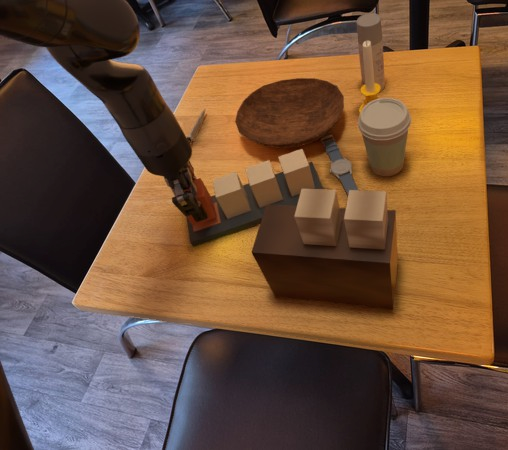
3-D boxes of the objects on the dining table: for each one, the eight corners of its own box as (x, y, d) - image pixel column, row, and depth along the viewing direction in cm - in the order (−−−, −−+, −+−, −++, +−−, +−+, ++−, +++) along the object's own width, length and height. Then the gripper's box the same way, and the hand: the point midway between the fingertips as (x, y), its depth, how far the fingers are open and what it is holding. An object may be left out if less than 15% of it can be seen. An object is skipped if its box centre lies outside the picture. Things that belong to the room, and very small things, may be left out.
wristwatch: (335, 133, 87) (334, 129, 86) (371, 206, 74) (371, 202, 74) (315, 140, 87) (314, 136, 86) (348, 214, 74) (347, 210, 74)
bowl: (255, 98, 99) (249, 80, 95) (352, 94, 93) (350, 74, 89) (231, 162, 88) (223, 144, 84) (340, 162, 82) (336, 143, 78)
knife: (206, 113, 99) (203, 106, 98) (209, 113, 99) (206, 106, 97) (182, 160, 91) (178, 153, 90) (185, 160, 91) (181, 154, 89)
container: (383, 94, 91) (379, 26, 79) (360, 94, 92) (353, 27, 81) (386, 79, 94) (383, 12, 82) (364, 80, 95) (358, 13, 83)
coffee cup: (417, 174, 77) (419, 121, 67) (370, 187, 77) (364, 137, 68) (402, 142, 82) (401, 89, 72) (357, 155, 82) (350, 104, 73)
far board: (327, 200, 77) (320, 172, 71) (193, 247, 77) (175, 222, 71) (313, 167, 83) (305, 137, 77) (187, 210, 83) (170, 184, 77)
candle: (379, 121, 86) (374, 51, 74) (355, 116, 89) (346, 47, 76) (389, 104, 89) (386, 33, 76) (365, 100, 91) (359, 30, 79)
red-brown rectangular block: (213, 199, 79) (200, 177, 74) (216, 217, 76) (203, 195, 72) (189, 207, 79) (176, 186, 74) (192, 225, 76) (178, 204, 72)
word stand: (397, 261, 67) (394, 179, 52) (393, 309, 63) (388, 234, 48) (286, 253, 72) (254, 176, 57) (275, 297, 68) (237, 225, 53)
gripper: (129, 115, 68) (176, 187, 81) (132, 178, 59) (184, 247, 72) (176, 99, 68) (214, 174, 81) (185, 159, 59) (227, 232, 72)
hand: (200, 208), depth 77 cm, fingers closed on red-brown rectangular block, 4 cm apart
